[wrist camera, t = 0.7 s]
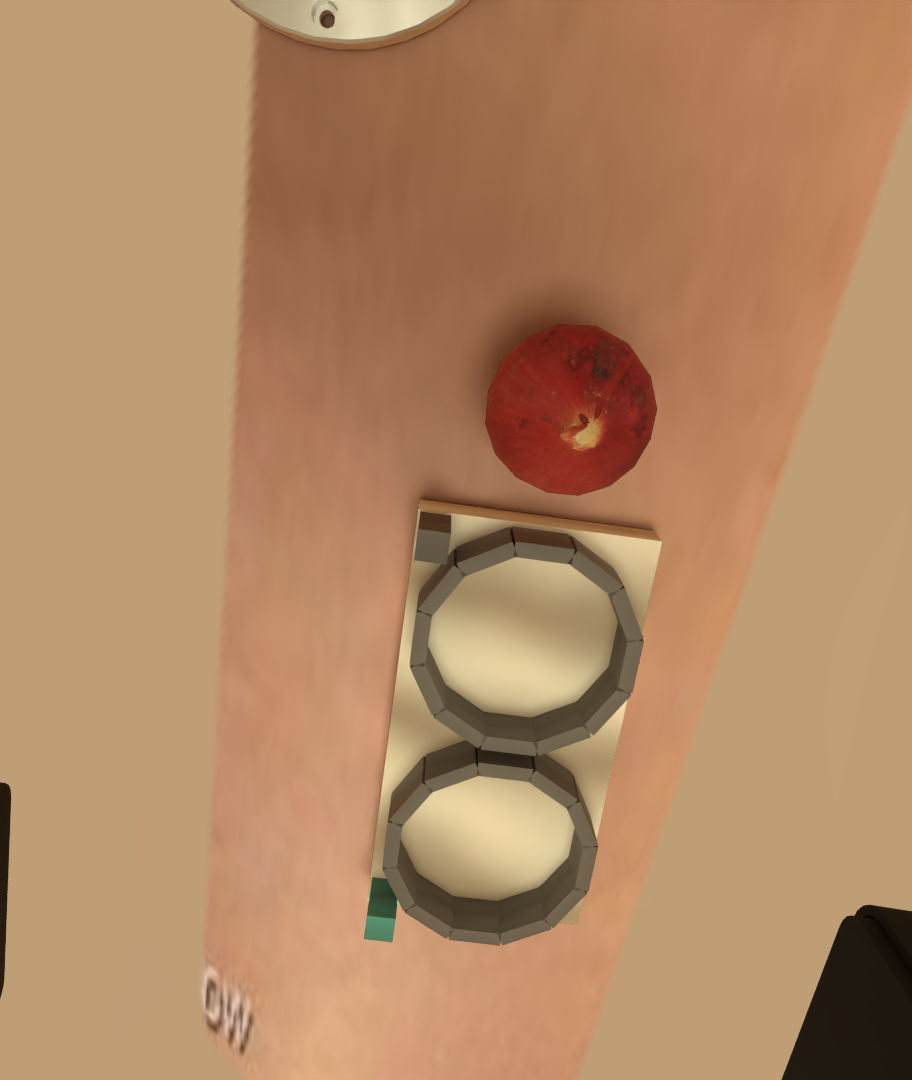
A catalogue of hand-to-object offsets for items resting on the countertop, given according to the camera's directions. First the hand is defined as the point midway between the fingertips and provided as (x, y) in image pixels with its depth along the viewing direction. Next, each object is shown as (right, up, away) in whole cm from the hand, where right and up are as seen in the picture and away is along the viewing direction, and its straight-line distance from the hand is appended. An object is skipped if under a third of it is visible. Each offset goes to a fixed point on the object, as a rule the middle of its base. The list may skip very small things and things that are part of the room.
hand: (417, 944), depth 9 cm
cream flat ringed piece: (+2, -3, +28) cm, 28 cm away
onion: (+4, +10, +24) cm, 26 cm away
